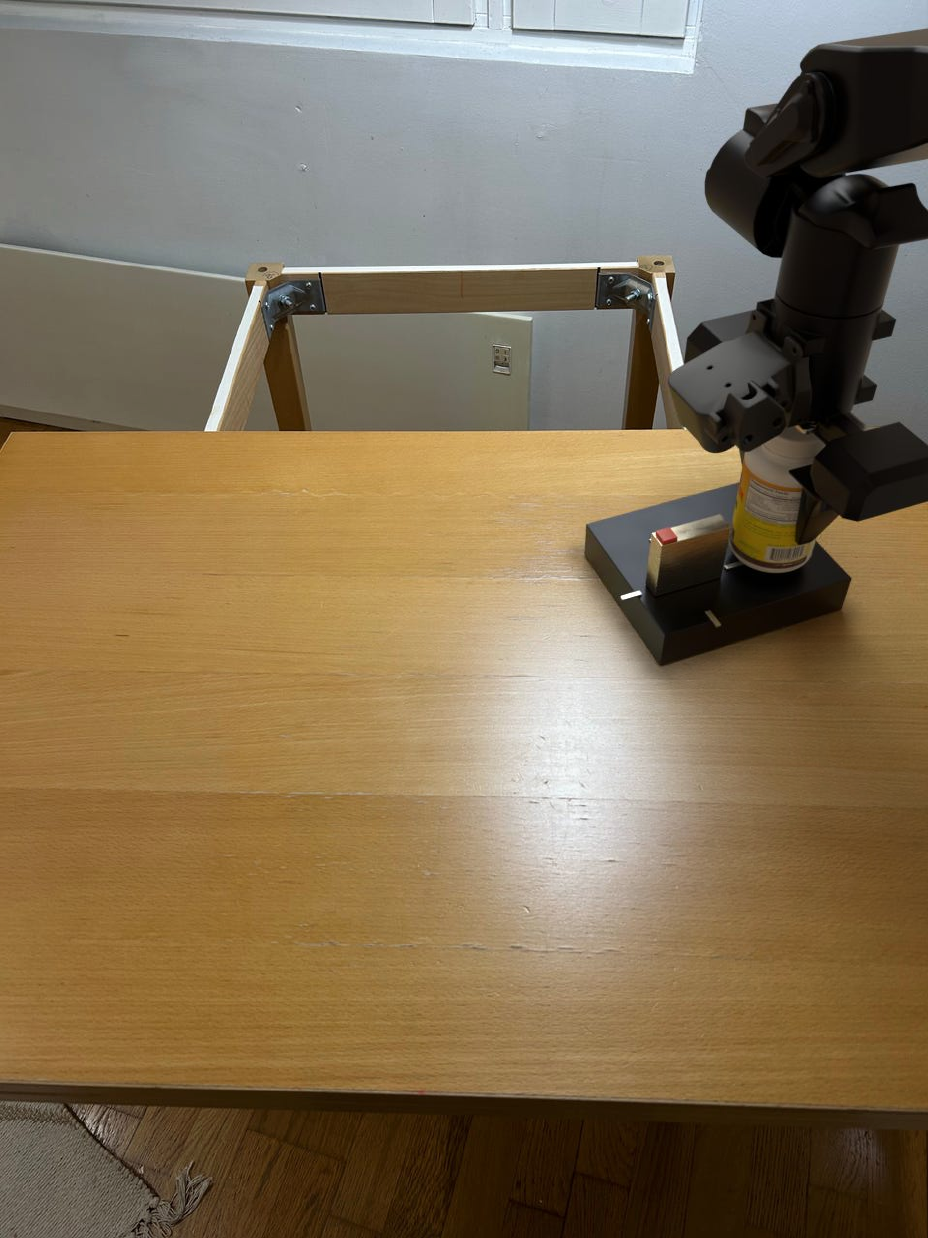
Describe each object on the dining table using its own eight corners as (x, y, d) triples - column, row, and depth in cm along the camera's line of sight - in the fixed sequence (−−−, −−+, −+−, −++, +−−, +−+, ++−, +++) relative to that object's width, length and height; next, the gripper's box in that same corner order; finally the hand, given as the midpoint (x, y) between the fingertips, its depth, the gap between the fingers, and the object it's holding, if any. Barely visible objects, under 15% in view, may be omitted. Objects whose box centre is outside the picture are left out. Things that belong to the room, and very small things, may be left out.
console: (847, 615, 68) (858, 582, 65) (649, 677, 64) (654, 644, 62) (749, 508, 76) (756, 475, 74) (570, 558, 73) (571, 525, 71)
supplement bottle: (758, 513, 70) (785, 387, 63) (827, 549, 67) (864, 421, 60) (710, 550, 67) (732, 424, 60) (779, 589, 64) (812, 461, 57)
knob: (711, 564, 67) (721, 510, 64) (721, 577, 66) (732, 523, 63) (645, 583, 66) (651, 530, 63) (654, 597, 65) (661, 543, 62)
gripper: (620, 252, 59) (605, 466, 70) (798, 414, 46) (745, 644, 57) (783, 218, 61) (743, 430, 72) (995, 363, 48) (908, 593, 59)
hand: (777, 515), depth 65 cm, fingers closed on supplement bottle, 5 cm apart
